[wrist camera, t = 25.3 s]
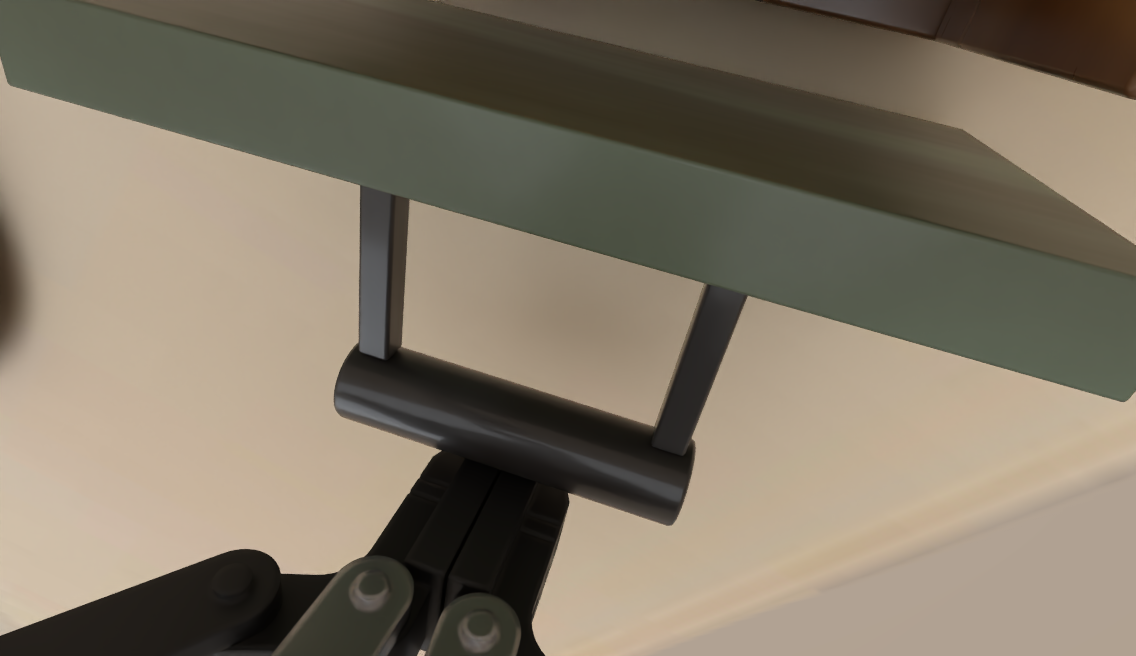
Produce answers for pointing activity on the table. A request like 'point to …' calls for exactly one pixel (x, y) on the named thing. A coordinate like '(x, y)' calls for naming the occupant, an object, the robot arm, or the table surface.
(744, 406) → the table surface
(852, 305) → the drawer
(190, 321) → the table surface
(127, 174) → the table surface
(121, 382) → the table surface
